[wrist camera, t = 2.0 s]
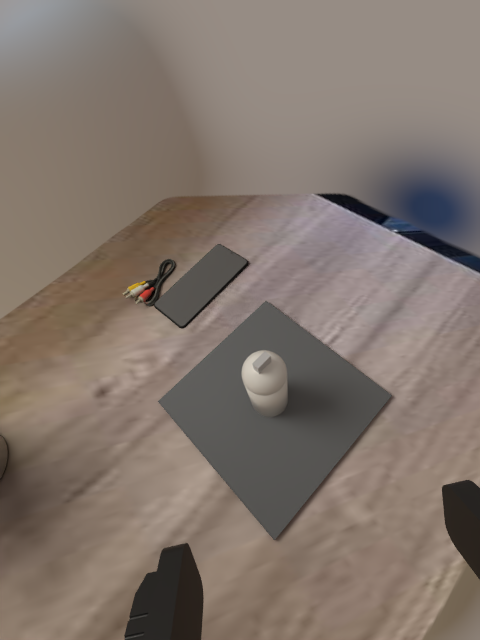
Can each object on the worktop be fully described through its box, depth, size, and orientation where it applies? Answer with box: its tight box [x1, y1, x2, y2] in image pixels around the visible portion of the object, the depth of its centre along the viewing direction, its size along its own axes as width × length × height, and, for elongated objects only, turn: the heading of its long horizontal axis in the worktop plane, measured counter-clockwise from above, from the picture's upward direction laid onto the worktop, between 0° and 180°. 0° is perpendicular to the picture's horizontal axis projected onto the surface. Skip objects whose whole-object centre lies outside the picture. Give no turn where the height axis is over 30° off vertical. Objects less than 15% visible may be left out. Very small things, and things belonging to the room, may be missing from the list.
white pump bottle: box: [242, 350, 288, 417], centre depth 33 cm, size 4×4×12 cm
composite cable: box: [123, 259, 175, 306], centre depth 49 cm, size 10×5×2 cm, turn 141°
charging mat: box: [158, 301, 392, 540], centre depth 38 cm, size 20×20×1 cm
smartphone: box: [154, 244, 248, 328], centre depth 49 cm, size 7×1×15 cm
